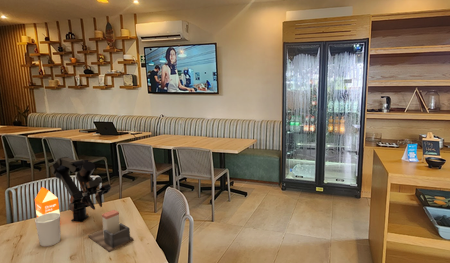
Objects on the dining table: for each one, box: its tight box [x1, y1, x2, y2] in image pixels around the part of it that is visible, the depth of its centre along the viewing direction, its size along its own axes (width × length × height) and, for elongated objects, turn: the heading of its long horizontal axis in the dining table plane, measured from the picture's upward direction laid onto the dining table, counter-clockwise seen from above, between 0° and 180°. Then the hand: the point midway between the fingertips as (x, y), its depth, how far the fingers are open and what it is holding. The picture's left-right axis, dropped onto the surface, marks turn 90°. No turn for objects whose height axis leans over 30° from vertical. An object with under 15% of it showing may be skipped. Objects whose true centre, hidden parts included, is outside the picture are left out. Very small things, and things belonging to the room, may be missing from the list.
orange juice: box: [34, 186, 62, 226], centre depth 144 cm, size 8×9×20 cm
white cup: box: [34, 213, 62, 247], centre depth 130 cm, size 10×10×12 cm
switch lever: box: [101, 209, 120, 234], centre depth 131 cm, size 4×6×12 cm
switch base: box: [88, 222, 134, 253], centre depth 132 cm, size 19×12×7 cm, turn 51°
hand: (98, 207), depth 137 cm, fingers open, 3 cm apart
